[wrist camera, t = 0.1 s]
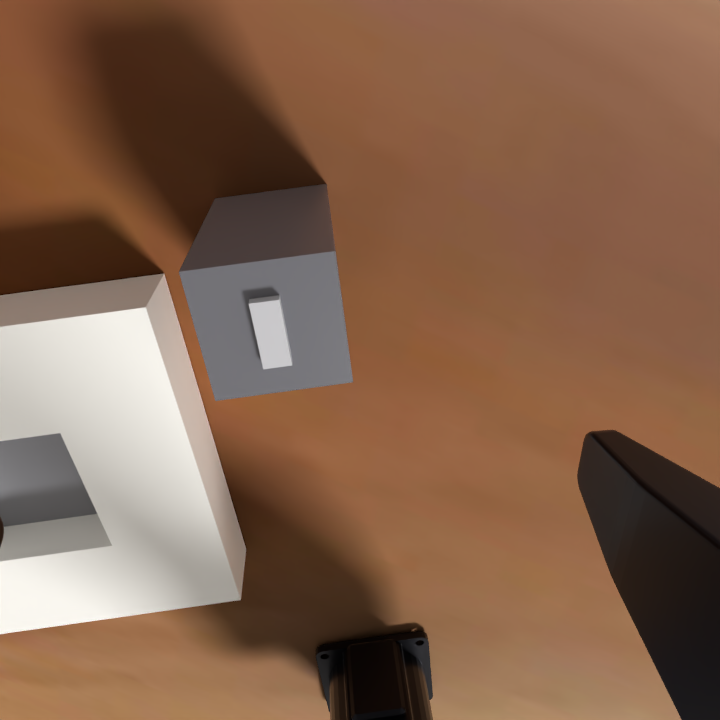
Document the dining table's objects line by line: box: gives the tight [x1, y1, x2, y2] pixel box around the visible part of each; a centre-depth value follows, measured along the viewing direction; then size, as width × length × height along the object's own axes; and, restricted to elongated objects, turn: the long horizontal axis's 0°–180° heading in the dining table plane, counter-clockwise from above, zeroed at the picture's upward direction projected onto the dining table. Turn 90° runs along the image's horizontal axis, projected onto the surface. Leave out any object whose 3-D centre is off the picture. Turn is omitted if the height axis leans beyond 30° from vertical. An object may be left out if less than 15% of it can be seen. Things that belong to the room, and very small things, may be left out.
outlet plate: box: [0, 274, 246, 634], centre depth 25 cm, size 15×15×3 cm
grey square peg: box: [179, 184, 353, 401], centre depth 19 cm, size 4×4×7 cm
